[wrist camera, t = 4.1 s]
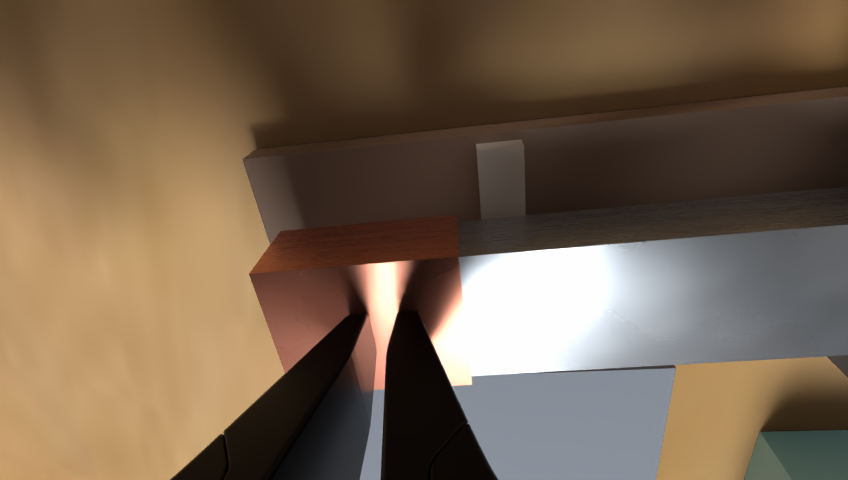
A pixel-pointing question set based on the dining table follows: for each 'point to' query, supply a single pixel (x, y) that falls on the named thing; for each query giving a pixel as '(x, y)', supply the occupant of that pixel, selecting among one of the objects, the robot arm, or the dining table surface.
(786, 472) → the plug
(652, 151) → the base
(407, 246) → the cutter lever
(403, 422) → the robot arm
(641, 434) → the mat
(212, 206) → the dining table surface
